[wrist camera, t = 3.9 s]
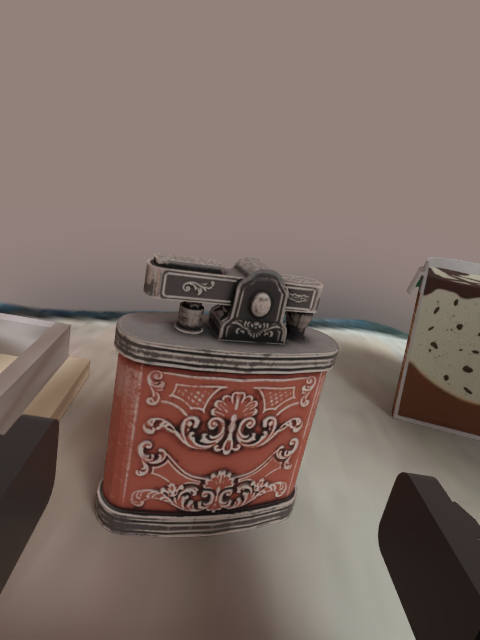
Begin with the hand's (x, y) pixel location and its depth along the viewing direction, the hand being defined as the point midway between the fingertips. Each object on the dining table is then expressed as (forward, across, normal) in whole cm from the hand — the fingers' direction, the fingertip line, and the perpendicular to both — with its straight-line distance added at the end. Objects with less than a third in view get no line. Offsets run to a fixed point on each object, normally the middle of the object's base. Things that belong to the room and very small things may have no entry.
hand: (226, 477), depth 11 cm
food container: (+18, -17, +6) cm, 26 cm away
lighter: (+6, 0, +6) cm, 9 cm away
